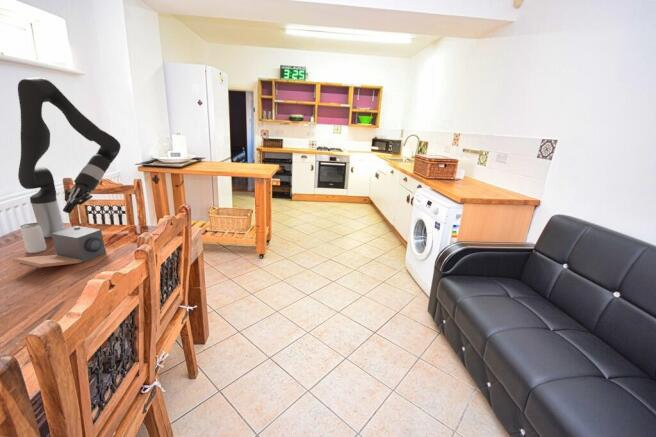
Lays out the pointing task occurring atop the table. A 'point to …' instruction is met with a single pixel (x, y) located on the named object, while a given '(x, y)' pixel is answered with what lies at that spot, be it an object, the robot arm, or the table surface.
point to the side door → (46, 261)
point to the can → (33, 238)
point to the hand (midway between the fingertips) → (66, 212)
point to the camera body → (79, 243)
